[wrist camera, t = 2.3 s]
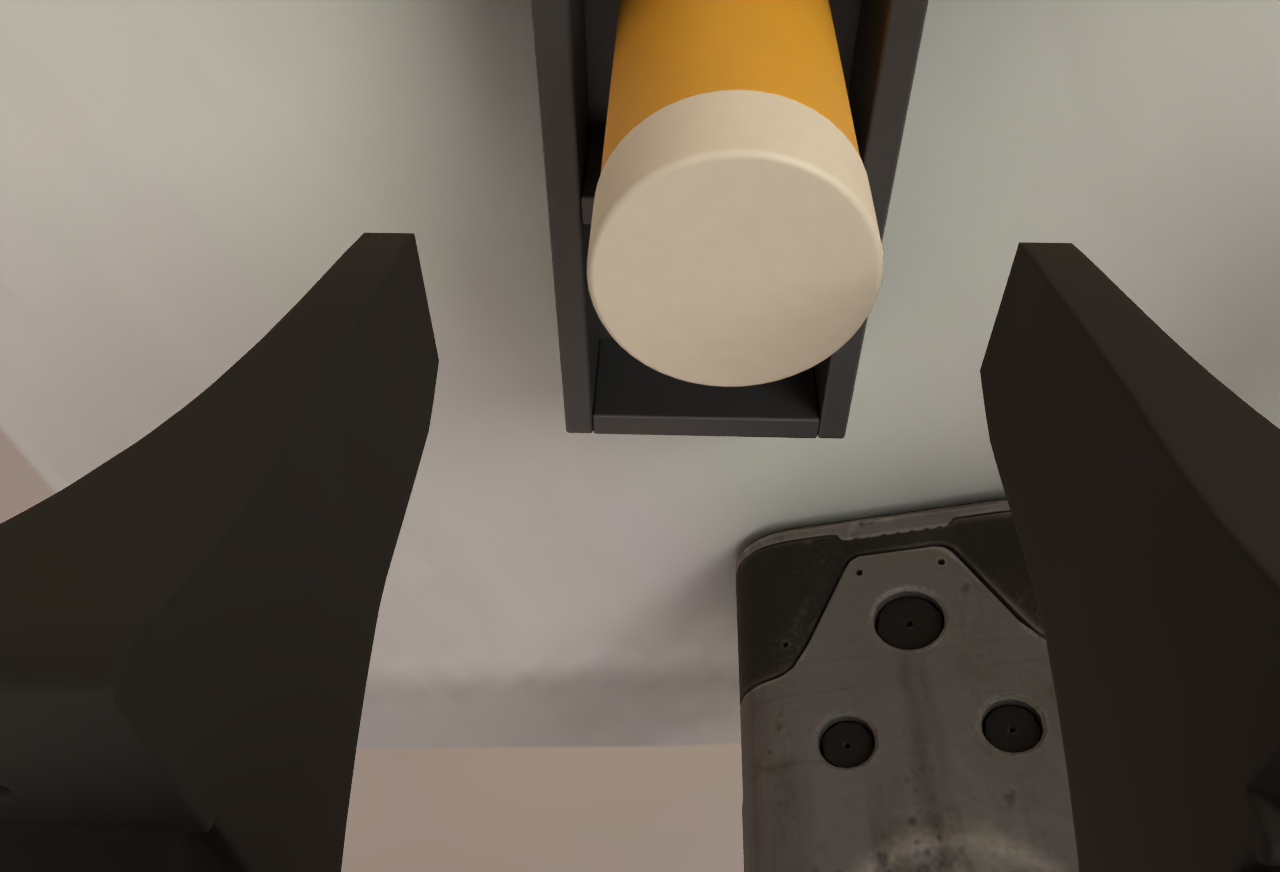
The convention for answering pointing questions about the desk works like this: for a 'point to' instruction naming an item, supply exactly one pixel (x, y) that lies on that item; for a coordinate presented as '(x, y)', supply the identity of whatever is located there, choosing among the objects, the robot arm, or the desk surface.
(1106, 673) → the robot arm
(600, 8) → the organizer
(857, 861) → the electronic device
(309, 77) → the desk surface
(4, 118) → the desk surface
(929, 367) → the desk surface
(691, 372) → the pill bottle
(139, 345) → the desk surface
